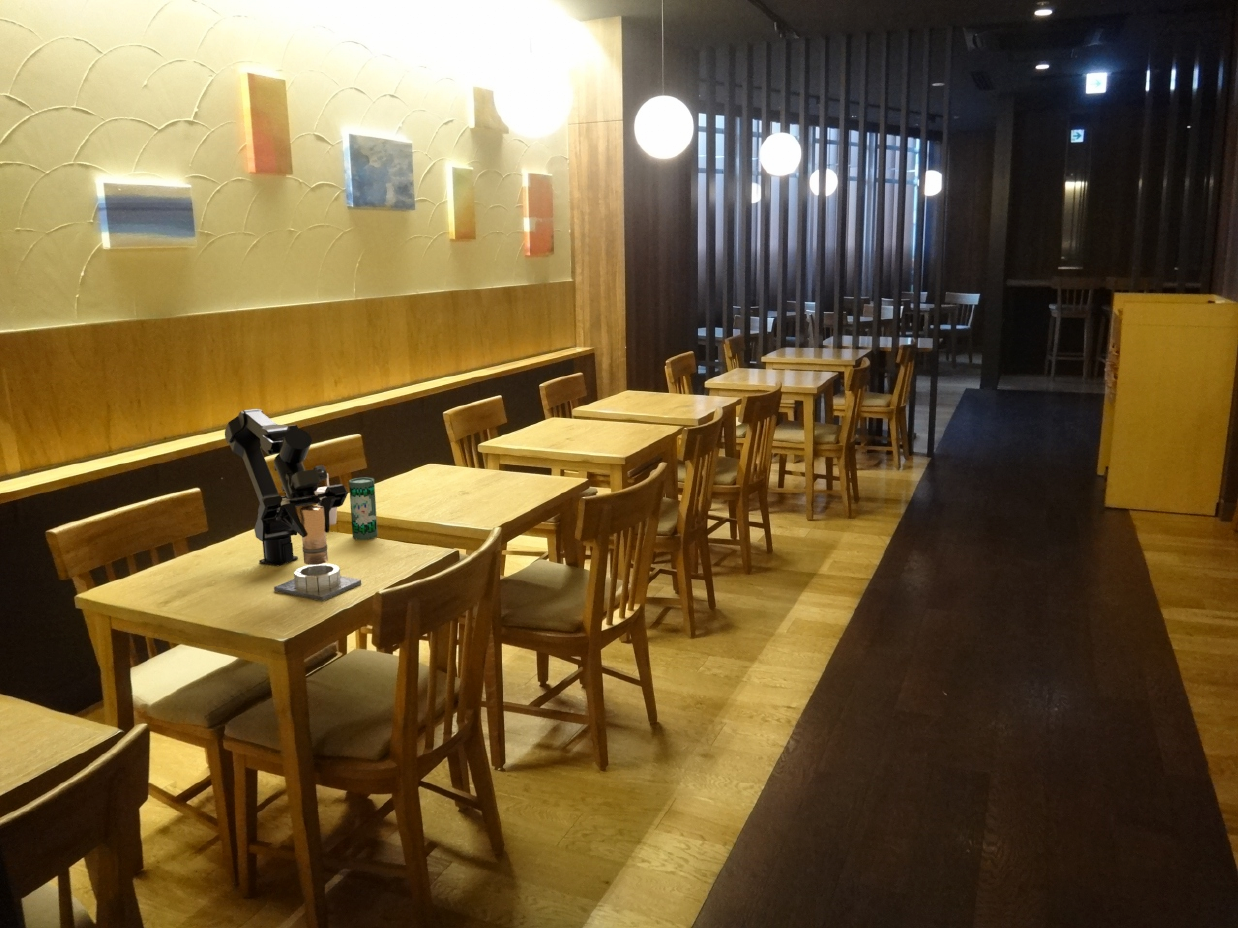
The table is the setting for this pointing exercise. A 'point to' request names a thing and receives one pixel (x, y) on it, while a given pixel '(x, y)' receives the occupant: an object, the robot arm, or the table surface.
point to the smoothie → (333, 510)
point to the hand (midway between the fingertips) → (316, 533)
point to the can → (363, 508)
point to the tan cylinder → (314, 535)
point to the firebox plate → (320, 593)
